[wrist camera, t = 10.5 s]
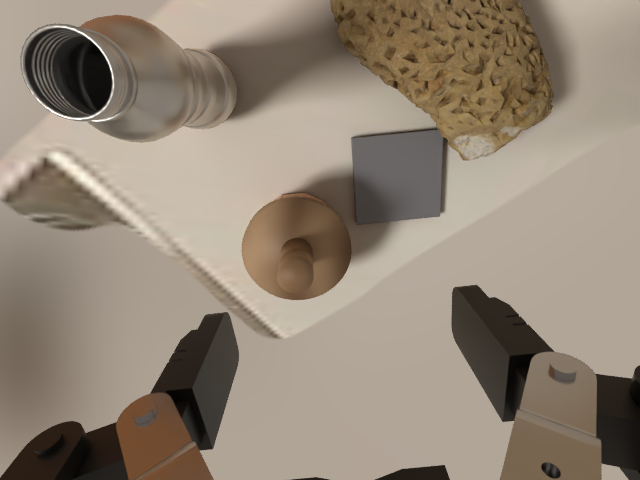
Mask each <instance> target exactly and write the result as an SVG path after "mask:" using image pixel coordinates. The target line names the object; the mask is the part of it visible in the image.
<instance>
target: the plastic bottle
mask: <svg viewBox="0 0 640 480" xmlns="http://www.w3.org/2000/svg"><path fill="white" fill-rule="evenodd" d="M21 70H22V75H23V78H24V81H25V83H26V85H27V87H28V89H29V90H30V92H31V94H32V95H33V96H34V97H35V99H36V100H37V101H38V102H39V103H40V104H41V105H42V106H43V107H45V108H46V109H47V110H49V111H50V112H52V113H53V114H56V115H58V116H60V117H62V118H66V119H70V120H74V121H87V122H88V123H89V124H90V125H92V126H93V127H95V128H97V129H98V130H100V131H101V132H103V133H106V134H108V135H110V136H113V137H115V138H118V139H121V140H125V141H129V142H141V143H142V142H150V141H155V140H158V139H160V138H163V137H165V136H168V135H170V134H171V133H173V132H175V131H176V130H177V129H179V128H180V127H182V126H186V127H189V128H194V129H209V128H213V127H216V126H218V125H219V124H221V123H223V122H224V121H225V120H226V119H227V118H228V117H229V115H230V114H231V113H232V111H233V109H234V107H235V104H236V99H237V88H236V83H235V80H234V77H233V75H232V73H231V71H230V70H229V68H228V67H227V65H226V64H225V63H224V62H223V61H222V60H221V59H220V58H218V57H217V56H216V55H214V54H212V53H210V52H208V51H205V50H201V49H189V48H187V49H182V48H181V47H180V46H179V45H178V44H177V43H176V42H175V41H174V40H173V39H172V38H170V37H169V36H168V35H167V34H165V33H164V32H163V31H161V30H160V29H158V28H157V27H156V26H154V25H152V24H150V23H148V22H146V21H144V20H142V19H139V18H135V17H132V16H125V15H112V16H104V17H99V18H95V19H93V20H90V21H87V22H85V23H84V24H82V25H81V26H80V27H75V26H71V25H66V24H50V25H46V26H43V27H41V28H38V29H37V30H35V31H34V32H32V34H30V36H29V37H28V38H27V39H26V41H25V43H24V45H23V47H22V52H21Z"/></svg>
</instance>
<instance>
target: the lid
mask: <svg viewBox="0 0 640 480" xmlns="http://www.w3.org/2000/svg"><path fill="white" fill-rule="evenodd" d="M242 257H243V261H244V265H245V267H246V270H247V272H248V273H249V275H250V276H251V278H252V279H253V280H254V282H256V283H257V284H258V285H259V286H260V287H261V288H262V289H264V290H265V291H267V292H268V293H270V294H272V295H275V296H277V297H281V298H284V299H290V300H304V299H310V298H314V297H317V296H319V295H322V294H324V293H326V292H327V291H329V290H330V289H332V288H333V287H334V286H335V285H336V284H337V283H338V282H339V281H340V280H341V279H342V278H343V276H344V274H345V273H346V271H347V269H348V266H349V263H350V259H351V241H350V237H349V234H348V231H347V228H346V226H345V224H344V222H343V221H342V219H341V218H340V216H339V215H338V214H337V213H336V212H335V211H334V210H333V209H332V208H330V207H329V206H328V205H326V204H324V203H322V202H320V201H318V200H315V199H313V198H308V197H302V196H290V197H284V198H281V199H277V200H275V201H273V202H270V203H269V204H267V205H266V206H264V207H263V208H262V209H260V210H259V211H258V212H257V213H256V214H255V215H254V217H253V218H252V220H251V221H250V223H249V225H248V227H247V229H246V231H245V234H244V237H243V242H242Z"/></svg>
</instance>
